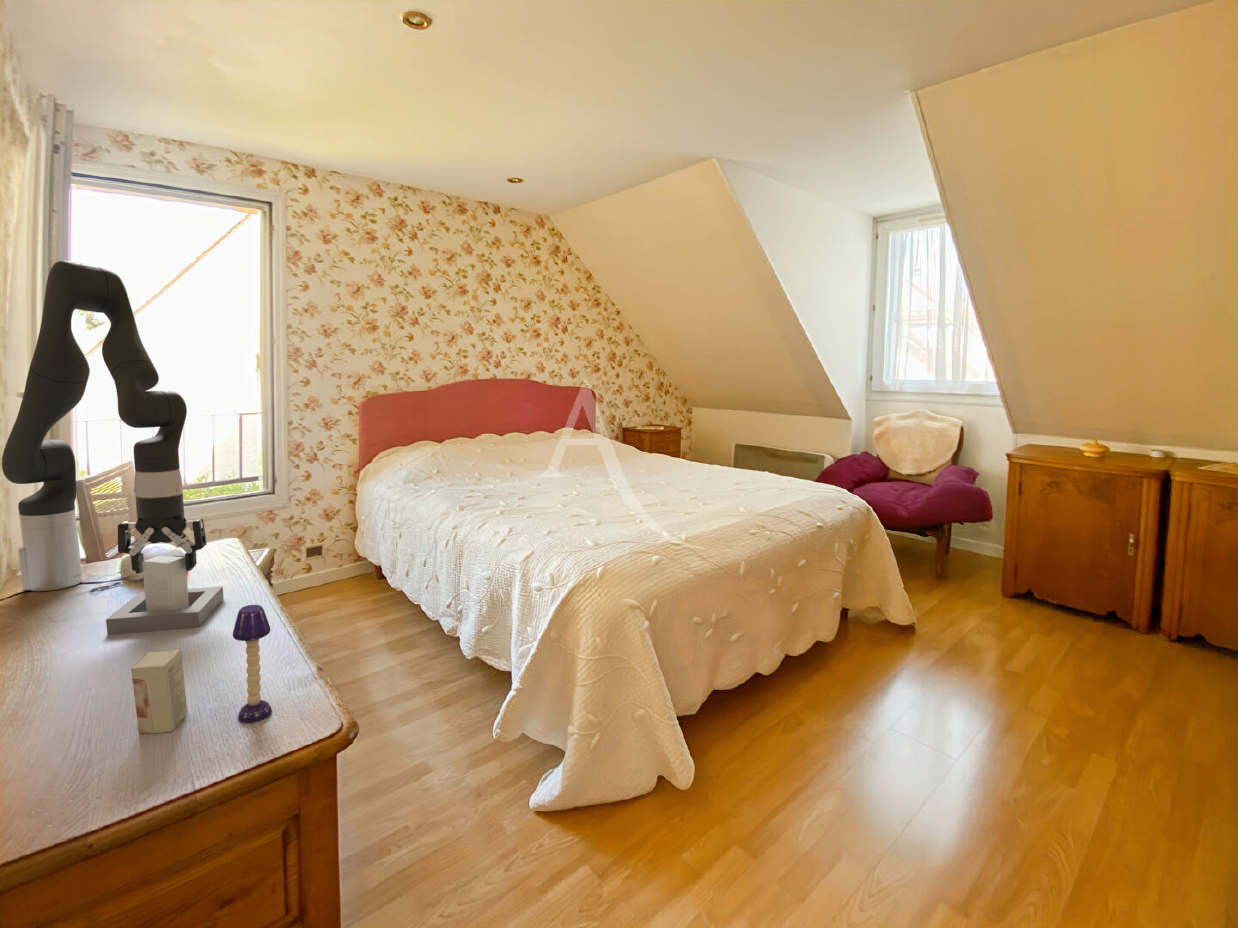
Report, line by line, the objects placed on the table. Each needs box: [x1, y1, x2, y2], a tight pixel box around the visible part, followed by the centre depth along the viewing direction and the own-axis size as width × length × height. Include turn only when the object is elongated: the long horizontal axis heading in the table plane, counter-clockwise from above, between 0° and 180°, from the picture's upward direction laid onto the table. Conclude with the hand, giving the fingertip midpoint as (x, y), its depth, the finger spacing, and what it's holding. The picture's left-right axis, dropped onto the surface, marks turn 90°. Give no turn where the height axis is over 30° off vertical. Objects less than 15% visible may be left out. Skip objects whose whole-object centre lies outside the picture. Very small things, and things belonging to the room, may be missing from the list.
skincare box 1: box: [142, 555, 190, 612], centre depth 123 cm, size 6×4×12 cm
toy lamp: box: [232, 604, 273, 723], centre depth 88 cm, size 5×5×17 cm
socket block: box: [105, 585, 225, 635], centre depth 124 cm, size 15×15×3 cm
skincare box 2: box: [130, 649, 188, 735], centre depth 86 cm, size 5×4×10 cm
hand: (165, 571), depth 122 cm, fingers open, 8 cm apart
